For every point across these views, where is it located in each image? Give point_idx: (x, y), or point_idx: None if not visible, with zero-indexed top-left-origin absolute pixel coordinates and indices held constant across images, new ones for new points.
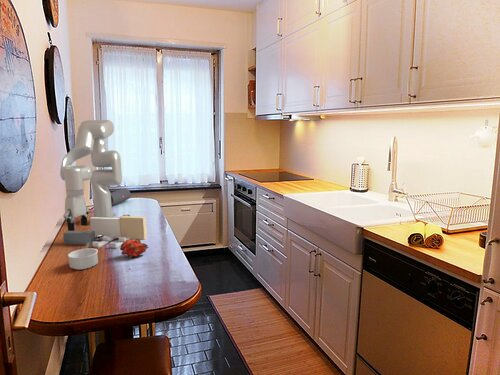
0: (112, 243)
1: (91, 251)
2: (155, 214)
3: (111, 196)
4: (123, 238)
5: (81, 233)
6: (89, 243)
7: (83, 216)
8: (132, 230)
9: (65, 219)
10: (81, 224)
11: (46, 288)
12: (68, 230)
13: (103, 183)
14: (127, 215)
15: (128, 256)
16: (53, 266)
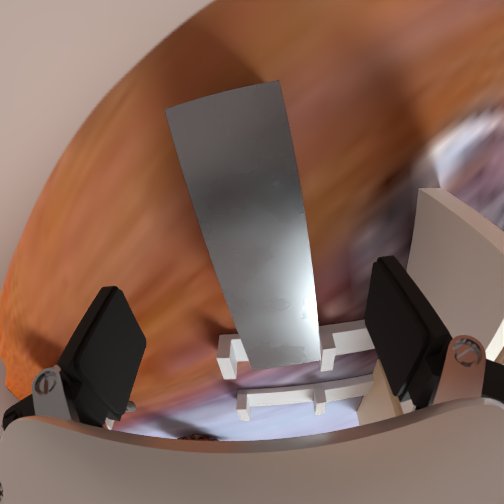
0: (239, 414)
1: (106, 417)
2: None
3: None
4: (315, 411)
5: (232, 313)
6: (130, 410)
7: (427, 393)
8: (373, 422)
9: (12, 421)
10: (380, 270)
11: (11, 364)
12: (105, 290)
13: None
14: None
15: (190, 437)
16: (25, 318)
